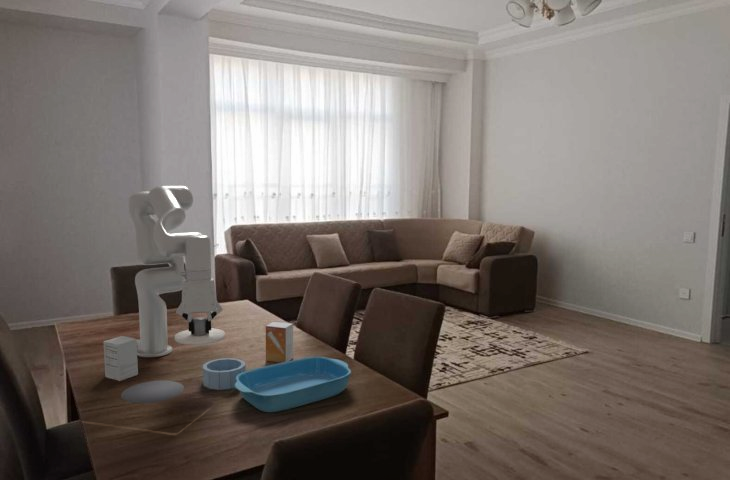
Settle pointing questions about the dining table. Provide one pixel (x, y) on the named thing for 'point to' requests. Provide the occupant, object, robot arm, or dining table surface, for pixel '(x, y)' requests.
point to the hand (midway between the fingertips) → (200, 332)
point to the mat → (152, 391)
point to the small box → (279, 342)
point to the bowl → (222, 373)
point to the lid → (199, 334)
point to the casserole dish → (293, 383)
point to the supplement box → (120, 358)
